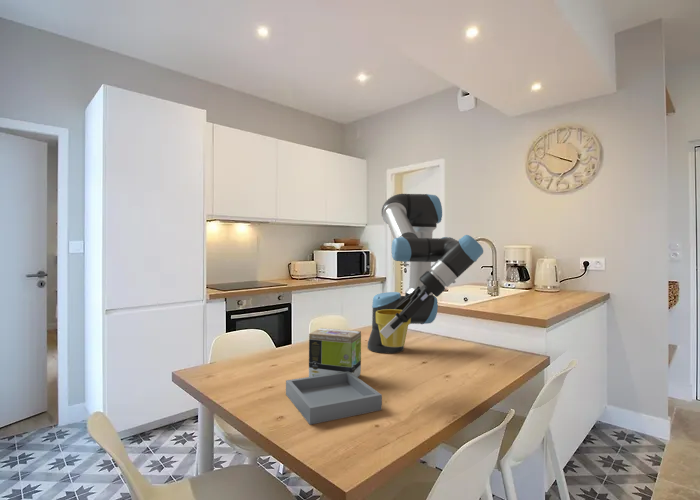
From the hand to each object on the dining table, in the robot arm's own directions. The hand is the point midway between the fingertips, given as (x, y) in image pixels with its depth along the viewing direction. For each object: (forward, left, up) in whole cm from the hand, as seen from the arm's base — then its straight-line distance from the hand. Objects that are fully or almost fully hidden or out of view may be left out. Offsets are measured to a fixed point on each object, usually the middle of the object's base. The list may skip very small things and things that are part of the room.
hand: (382, 330), depth 111 cm
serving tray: (+1, -17, -18) cm, 25 cm away
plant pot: (+1, +3, -4) cm, 5 cm away
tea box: (-17, -8, -18) cm, 26 cm away
